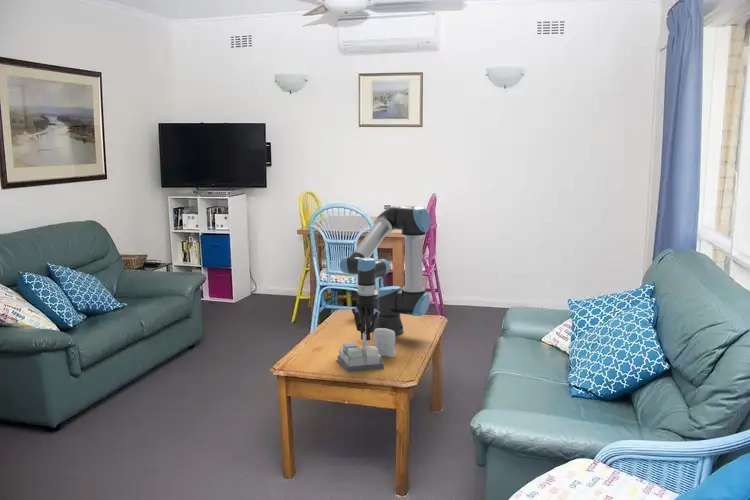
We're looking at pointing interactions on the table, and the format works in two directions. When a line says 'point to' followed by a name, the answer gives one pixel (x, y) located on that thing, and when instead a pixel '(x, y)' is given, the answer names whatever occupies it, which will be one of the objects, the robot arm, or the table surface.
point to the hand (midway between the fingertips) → (365, 347)
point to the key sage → (354, 353)
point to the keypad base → (360, 362)
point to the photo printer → (384, 341)
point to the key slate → (348, 345)
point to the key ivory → (370, 351)
